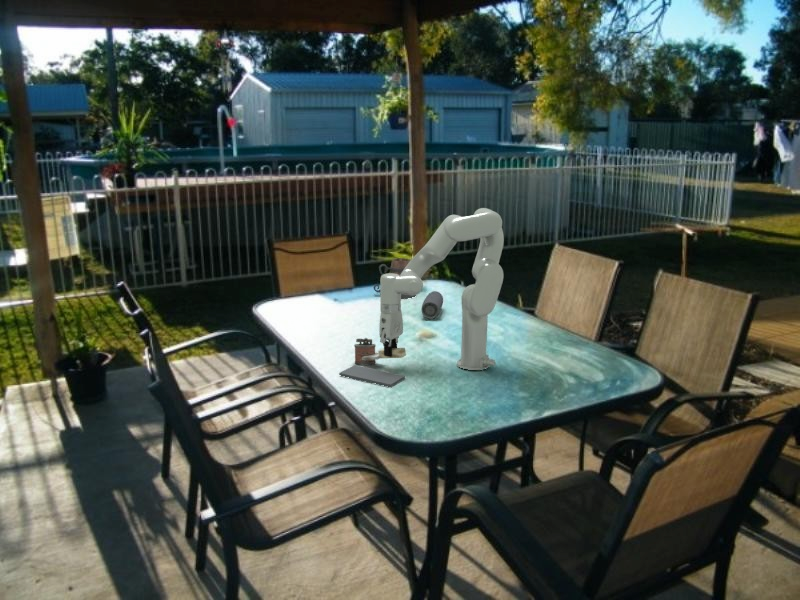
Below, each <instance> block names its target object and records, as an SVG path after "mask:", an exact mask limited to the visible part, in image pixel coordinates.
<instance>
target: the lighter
mask: <svg viewBox="0 0 800 600" xmlns="http://www.w3.org/2000/svg"><path fill="white" fill-rule="evenodd" d="M355 342H356V343H355V344H354V365H357V364H360V365H359V366H364V364H372V365H375V363H377V360H362V357H364V356H369V355H373V354H375V353H376V347H377V345H376V344H375V343H373V339H372V338H368V337H364V338H355Z"/></svg>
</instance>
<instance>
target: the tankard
mask: <svg viewBox="0 0 800 600" xmlns="http://www.w3.org/2000/svg"><path fill="white" fill-rule="evenodd" d="M410 261H411V259H410V258H404V257H397V258H393V259H391V263H390V264H391V265H390V267H388V266H387V265H386V264H385V263H381V264H380V265H379V266H378V270H379V274H380V276H382V275H383V274H387V273H388V271H389V270H390V272H389V273H394V274H398V275H401V273H402V271H403V270H404V269H405V267H406V266H407V265H408V263H409V262H410ZM382 267H384V273H383V272H382ZM373 290H374V291H375V292H376V293H380V285H379V284H377V283H375V284H374V286H373ZM415 296H416V297H417V295H404V294H401V300H409V299H408V298H411V299H413V298H412V297H415ZM416 297H415V298H416Z"/></svg>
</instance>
